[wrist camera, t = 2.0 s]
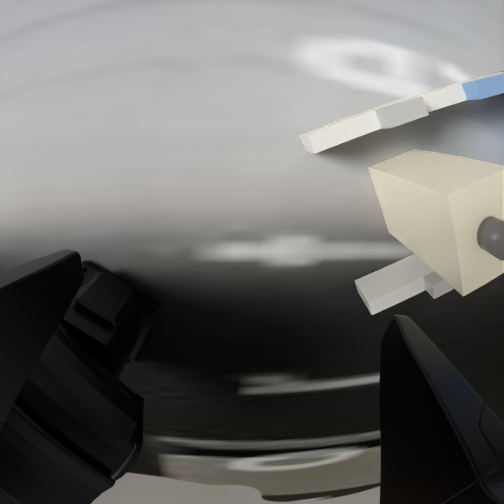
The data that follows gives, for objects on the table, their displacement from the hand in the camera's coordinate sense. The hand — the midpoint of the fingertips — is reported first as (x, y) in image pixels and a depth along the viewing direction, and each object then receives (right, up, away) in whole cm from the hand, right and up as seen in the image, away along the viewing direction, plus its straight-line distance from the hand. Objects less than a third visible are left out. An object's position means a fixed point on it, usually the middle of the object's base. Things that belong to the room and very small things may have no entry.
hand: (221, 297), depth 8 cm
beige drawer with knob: (+10, +5, +10) cm, 15 cm away
